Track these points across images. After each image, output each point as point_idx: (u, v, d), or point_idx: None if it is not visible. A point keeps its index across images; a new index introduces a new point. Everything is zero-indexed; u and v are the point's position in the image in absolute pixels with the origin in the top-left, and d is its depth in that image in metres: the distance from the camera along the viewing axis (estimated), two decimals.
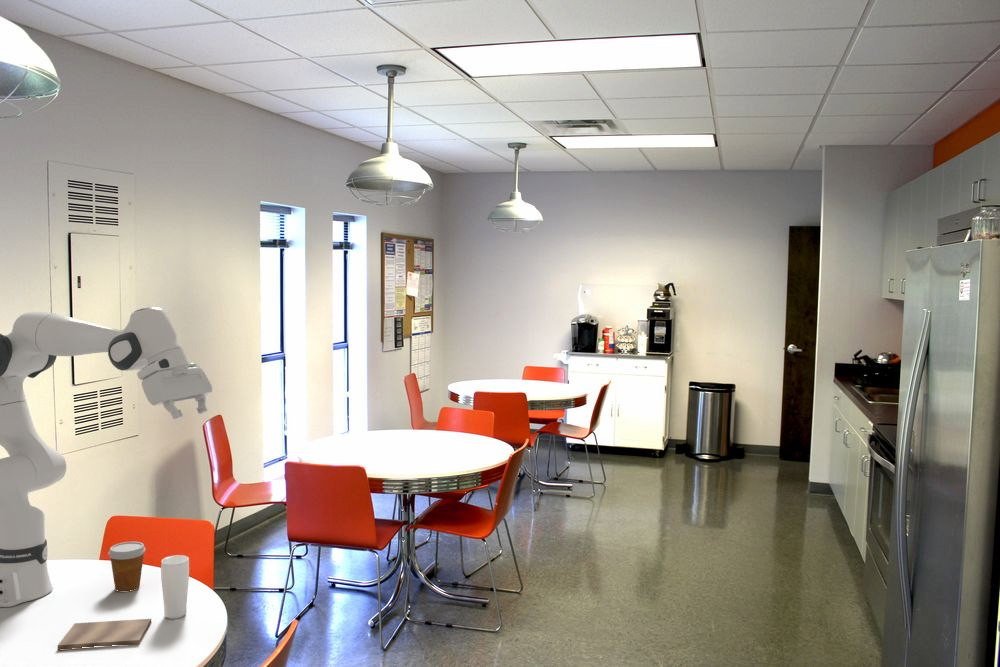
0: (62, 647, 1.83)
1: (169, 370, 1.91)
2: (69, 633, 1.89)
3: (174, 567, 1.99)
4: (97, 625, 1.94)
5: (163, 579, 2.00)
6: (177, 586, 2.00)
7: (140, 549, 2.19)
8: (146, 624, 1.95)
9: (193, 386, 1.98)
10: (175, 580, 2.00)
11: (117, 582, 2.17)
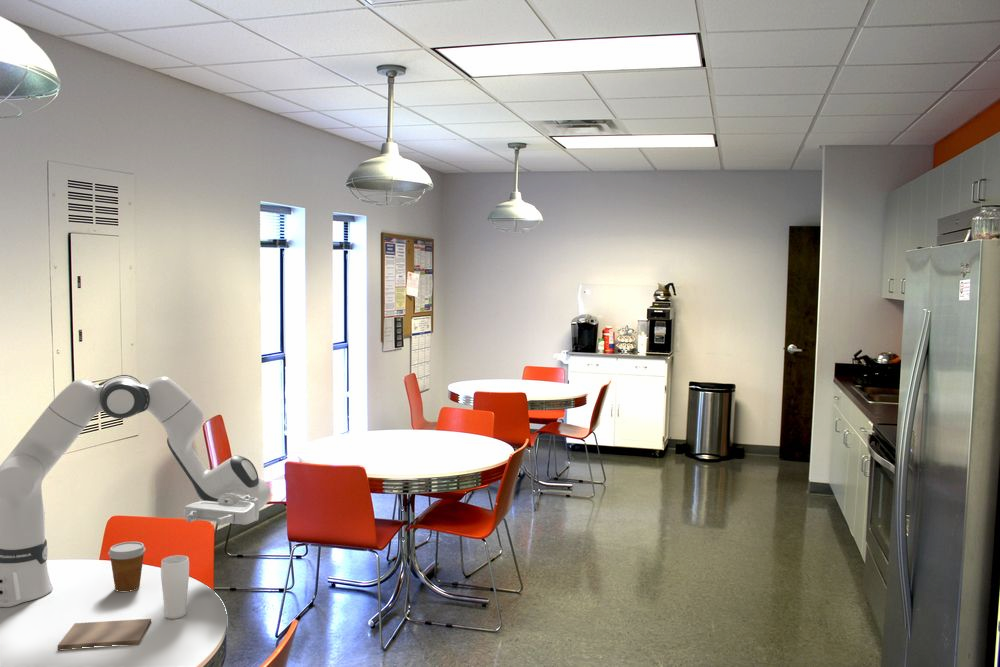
0: (62, 647, 1.83)
1: None
2: (69, 633, 1.89)
3: (174, 567, 1.99)
4: (97, 625, 1.94)
5: (163, 579, 2.00)
6: (177, 586, 2.00)
7: (140, 549, 2.19)
8: (146, 624, 1.95)
9: None
10: (175, 580, 2.00)
11: (117, 582, 2.17)
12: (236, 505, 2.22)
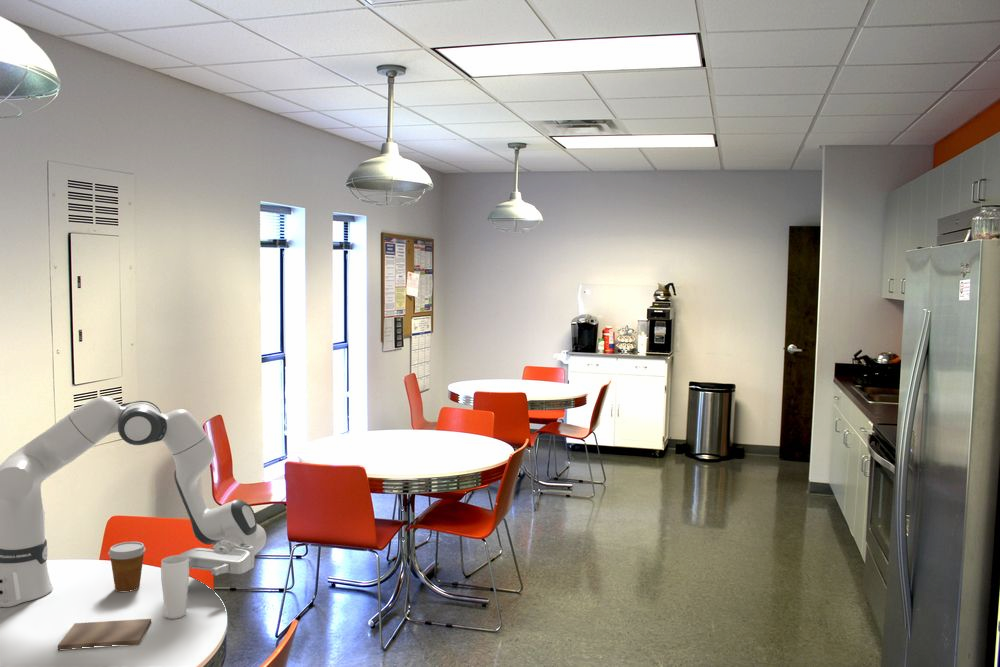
0: (62, 647, 1.83)
1: None
2: (69, 633, 1.89)
3: (174, 567, 1.99)
4: (97, 625, 1.94)
5: (163, 579, 2.00)
6: (177, 586, 2.00)
7: (140, 549, 2.19)
8: (146, 624, 1.95)
9: None
10: (175, 580, 2.00)
11: (117, 582, 2.17)
12: (231, 553, 2.21)
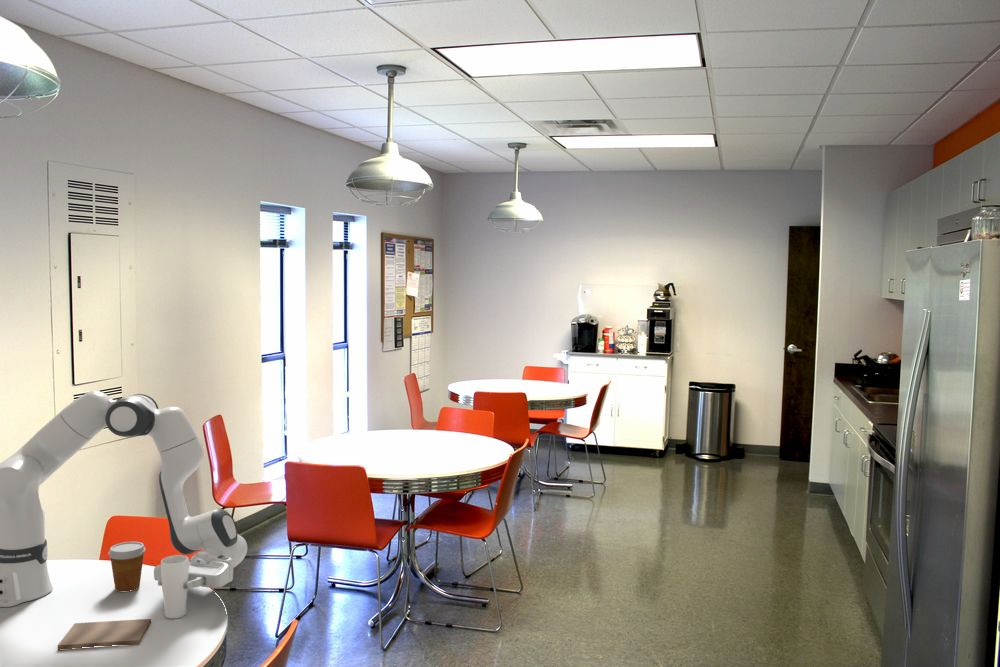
0: (62, 647, 1.83)
1: None
2: (69, 633, 1.89)
3: (174, 567, 1.99)
4: (97, 625, 1.94)
5: (163, 579, 2.00)
6: (177, 586, 2.00)
7: (140, 549, 2.19)
8: (146, 624, 1.95)
9: None
10: (175, 580, 2.00)
11: (117, 582, 2.17)
12: (209, 566, 2.11)
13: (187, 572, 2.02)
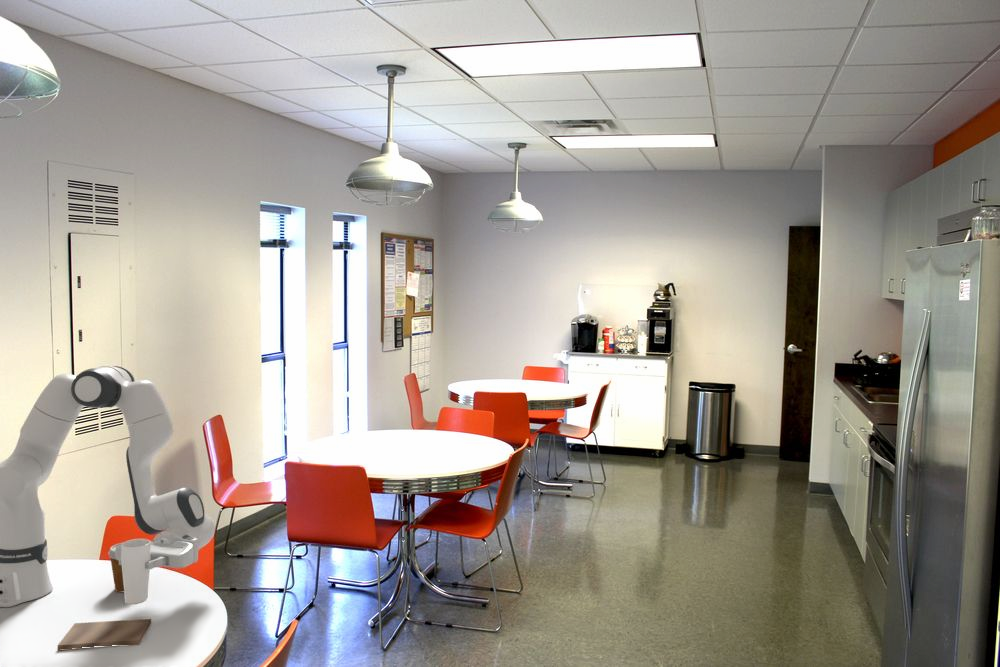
0: (62, 647, 1.83)
1: None
2: (69, 633, 1.89)
3: (135, 551, 1.92)
4: (97, 625, 1.94)
5: (123, 563, 1.93)
6: (137, 570, 1.93)
7: None
8: (146, 624, 1.95)
9: None
10: (135, 564, 1.92)
11: (117, 582, 2.17)
12: (173, 546, 2.03)
13: (149, 556, 1.95)
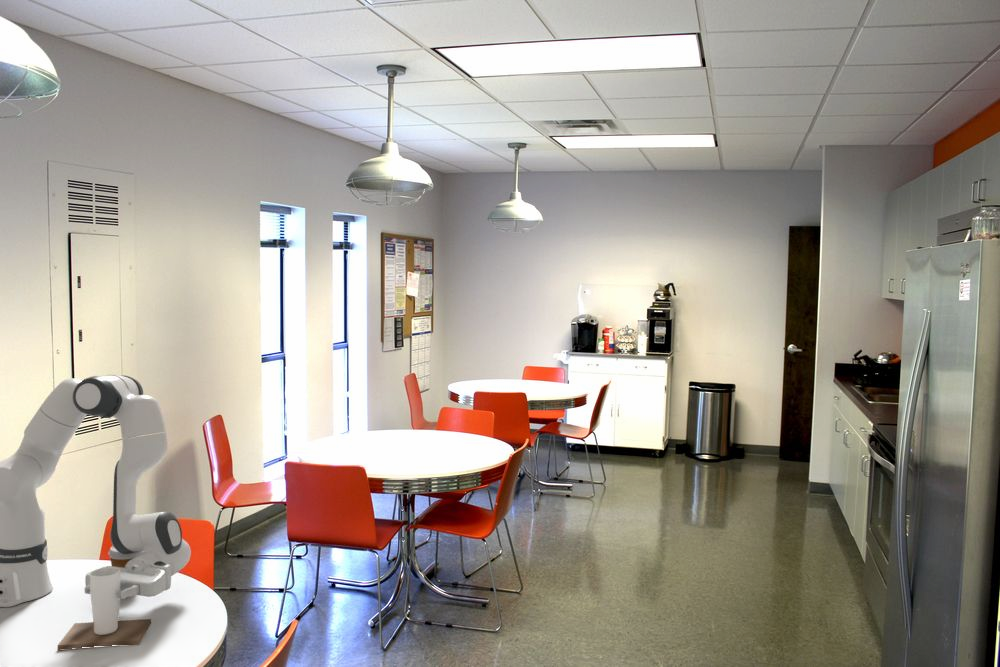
0: (62, 647, 1.83)
1: None
2: (69, 633, 1.89)
3: (103, 580, 1.87)
4: None
5: (91, 593, 1.87)
6: (106, 600, 1.87)
7: None
8: (146, 624, 1.95)
9: None
10: (104, 594, 1.87)
11: None
12: (144, 573, 1.98)
13: (118, 585, 1.90)
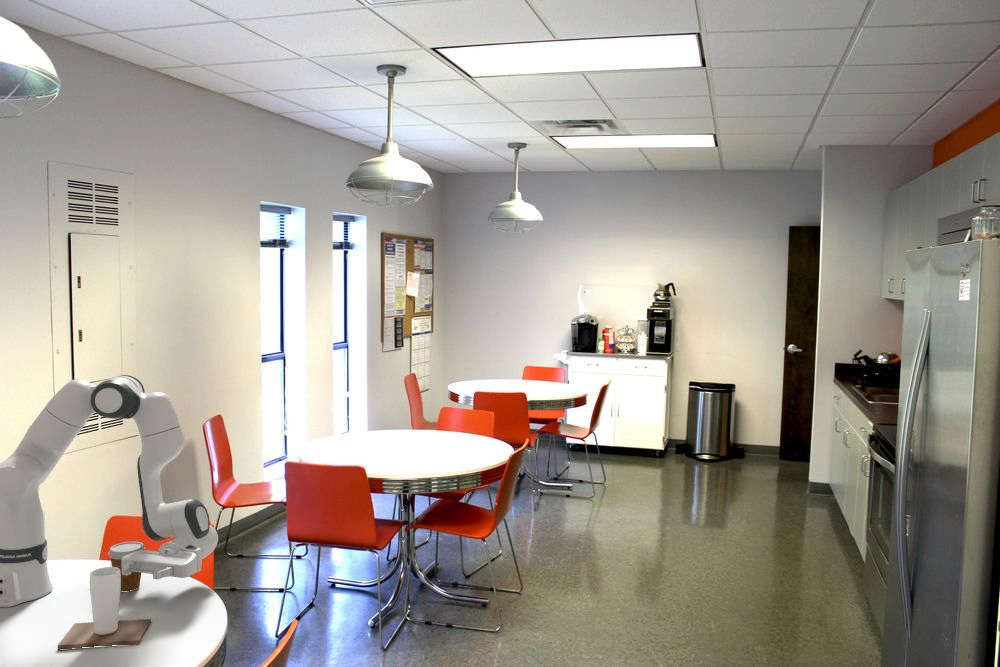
0: (62, 647, 1.83)
1: None
2: (69, 633, 1.89)
3: (103, 580, 1.87)
4: None
5: (91, 593, 1.87)
6: (106, 600, 1.87)
7: (140, 549, 2.19)
8: (146, 624, 1.95)
9: None
10: (104, 594, 1.87)
11: None
12: (177, 556, 2.10)
13: (118, 585, 1.90)
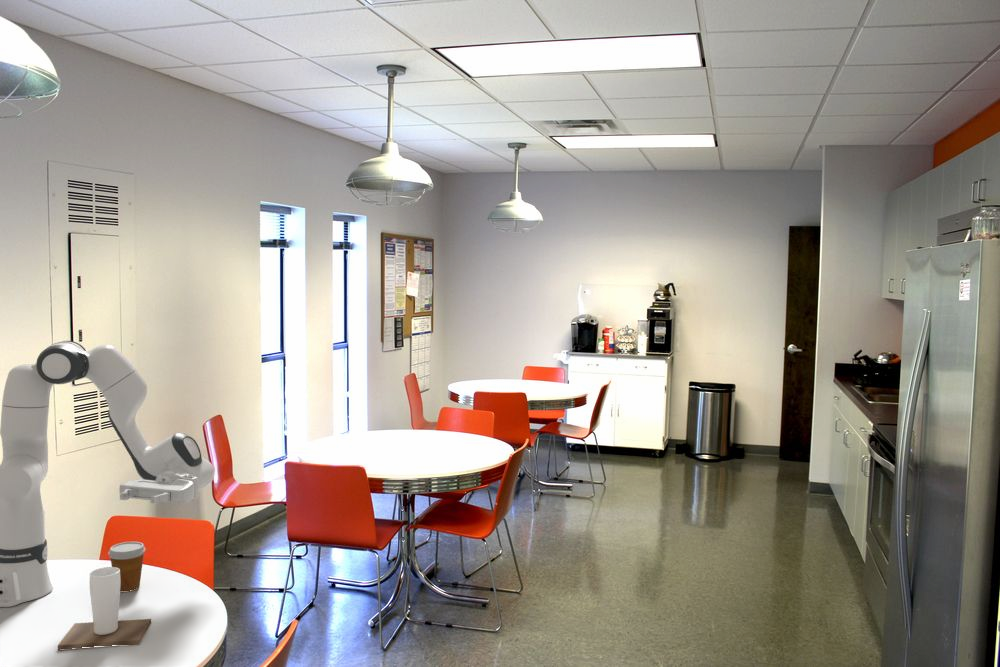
0: (62, 647, 1.83)
1: None
2: (69, 633, 1.89)
3: (103, 580, 1.87)
4: None
5: (91, 593, 1.87)
6: (106, 600, 1.87)
7: (140, 549, 2.19)
8: (146, 624, 1.95)
9: None
10: (104, 594, 1.87)
11: None
12: (174, 483, 2.13)
13: (118, 585, 1.90)
